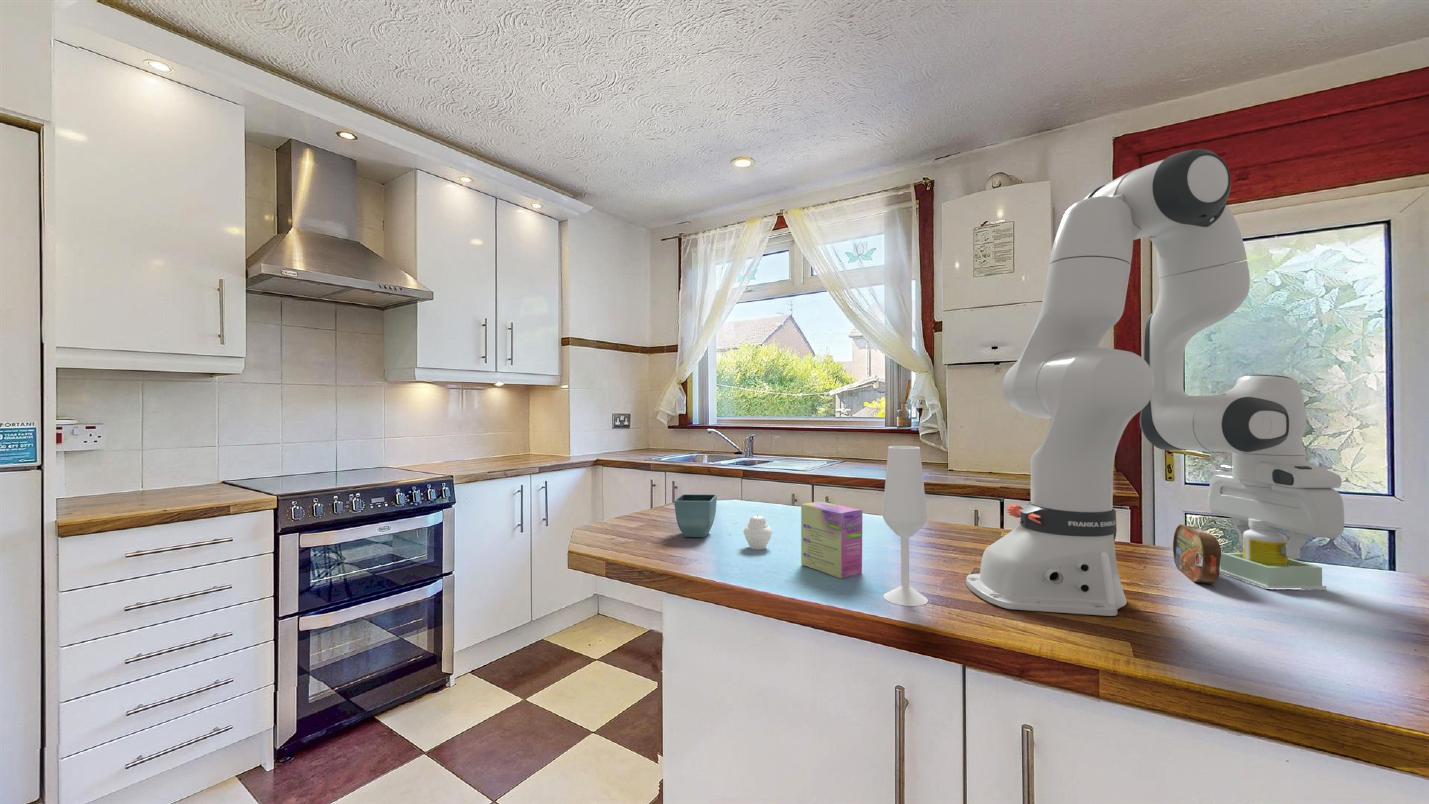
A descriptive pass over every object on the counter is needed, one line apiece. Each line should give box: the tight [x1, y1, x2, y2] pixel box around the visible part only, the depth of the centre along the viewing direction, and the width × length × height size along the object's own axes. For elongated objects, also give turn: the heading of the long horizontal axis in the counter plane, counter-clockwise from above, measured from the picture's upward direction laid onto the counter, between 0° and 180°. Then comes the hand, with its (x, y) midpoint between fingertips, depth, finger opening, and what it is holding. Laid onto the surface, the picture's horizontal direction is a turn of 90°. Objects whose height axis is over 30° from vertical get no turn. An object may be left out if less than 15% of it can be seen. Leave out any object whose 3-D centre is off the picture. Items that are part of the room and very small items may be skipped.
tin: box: [1172, 524, 1222, 585], centre depth 96 cm, size 15×3×8 cm, turn 154°
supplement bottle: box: [1242, 519, 1289, 566], centre depth 93 cm, size 5×5×10 cm
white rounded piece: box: [743, 514, 773, 551], centre depth 117 cm, size 6×6×7 cm
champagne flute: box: [882, 445, 929, 607], centre depth 87 cm, size 7×7×24 cm
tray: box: [1219, 552, 1327, 591], centre depth 93 cm, size 9×9×4 cm
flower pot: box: [673, 493, 718, 539], centre depth 129 cm, size 9×9×9 cm
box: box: [800, 500, 863, 580], centre depth 102 cm, size 10×6×12 cm, turn 34°
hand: (1268, 551), depth 93 cm, fingers open, 6 cm apart
